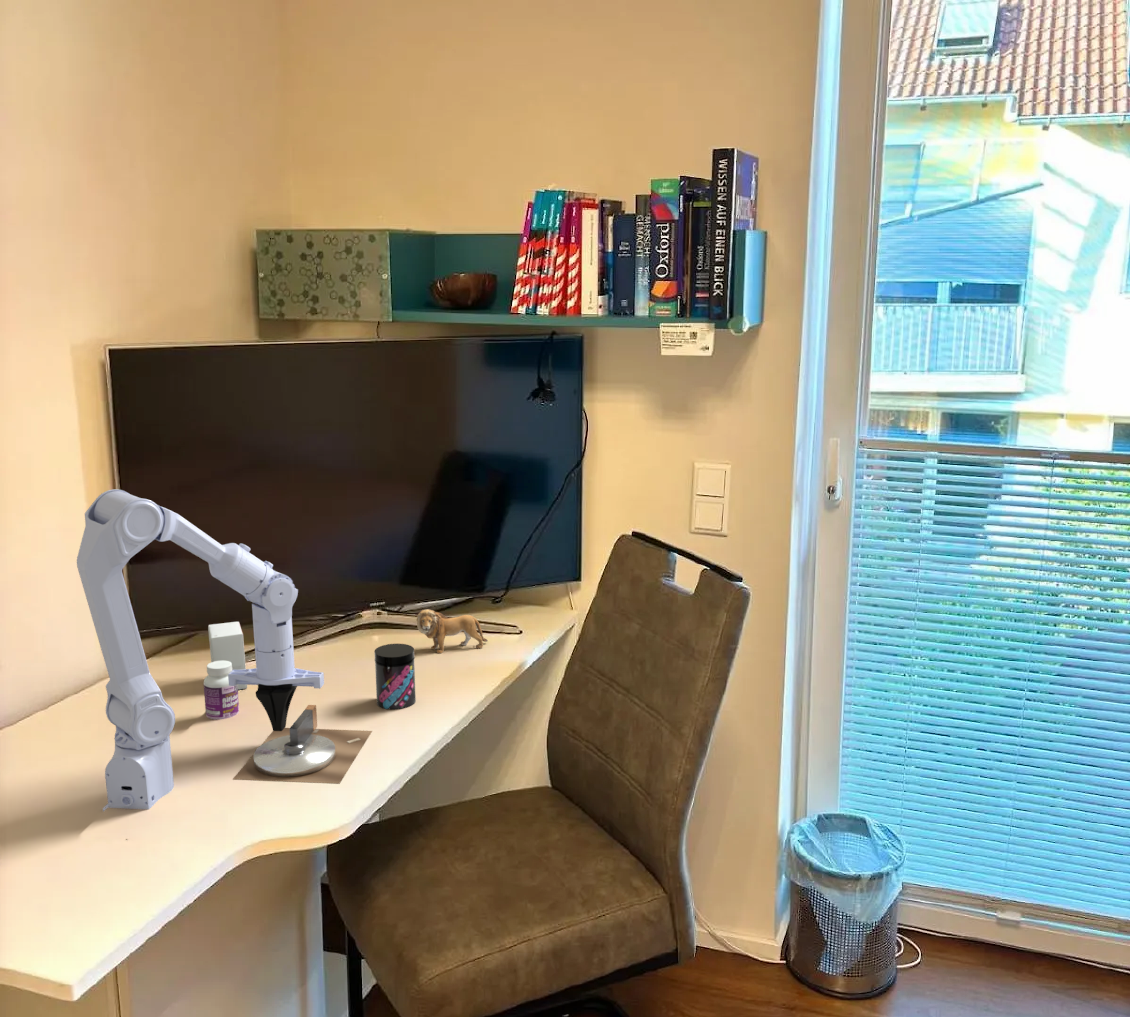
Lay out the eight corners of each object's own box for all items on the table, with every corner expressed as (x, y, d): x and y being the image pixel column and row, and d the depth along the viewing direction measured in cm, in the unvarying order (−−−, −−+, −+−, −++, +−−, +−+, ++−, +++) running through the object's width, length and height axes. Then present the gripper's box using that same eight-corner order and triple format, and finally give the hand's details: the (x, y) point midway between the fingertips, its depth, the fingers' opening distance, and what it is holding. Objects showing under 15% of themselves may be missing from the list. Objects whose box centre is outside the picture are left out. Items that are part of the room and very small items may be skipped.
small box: (247, 689, 190) (243, 633, 188) (215, 693, 188) (210, 637, 186) (243, 674, 197) (239, 620, 195) (212, 678, 195) (207, 624, 193)
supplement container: (369, 712, 180) (367, 654, 178) (387, 697, 186) (384, 641, 184) (406, 717, 178) (404, 659, 176) (422, 702, 184) (420, 645, 182)
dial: (321, 778, 154) (319, 747, 153) (241, 774, 155) (239, 744, 154) (350, 734, 169) (349, 706, 168) (277, 731, 170) (275, 703, 169)
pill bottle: (229, 726, 175) (225, 671, 173) (200, 723, 176) (195, 669, 174) (245, 713, 180) (241, 659, 178) (217, 710, 181) (212, 657, 179)
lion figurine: (422, 659, 205) (421, 614, 203) (413, 650, 210) (412, 607, 208) (492, 647, 211) (491, 604, 209) (482, 639, 216) (481, 597, 214)
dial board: (339, 789, 153) (339, 782, 153) (233, 785, 154) (232, 778, 154) (372, 736, 171) (372, 730, 170) (276, 733, 172) (275, 726, 172)
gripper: (328, 638, 165) (332, 719, 168) (238, 636, 167) (244, 716, 170) (313, 654, 159) (318, 738, 162) (220, 651, 160) (226, 735, 163)
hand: (279, 728), depth 165 cm, fingers closed
